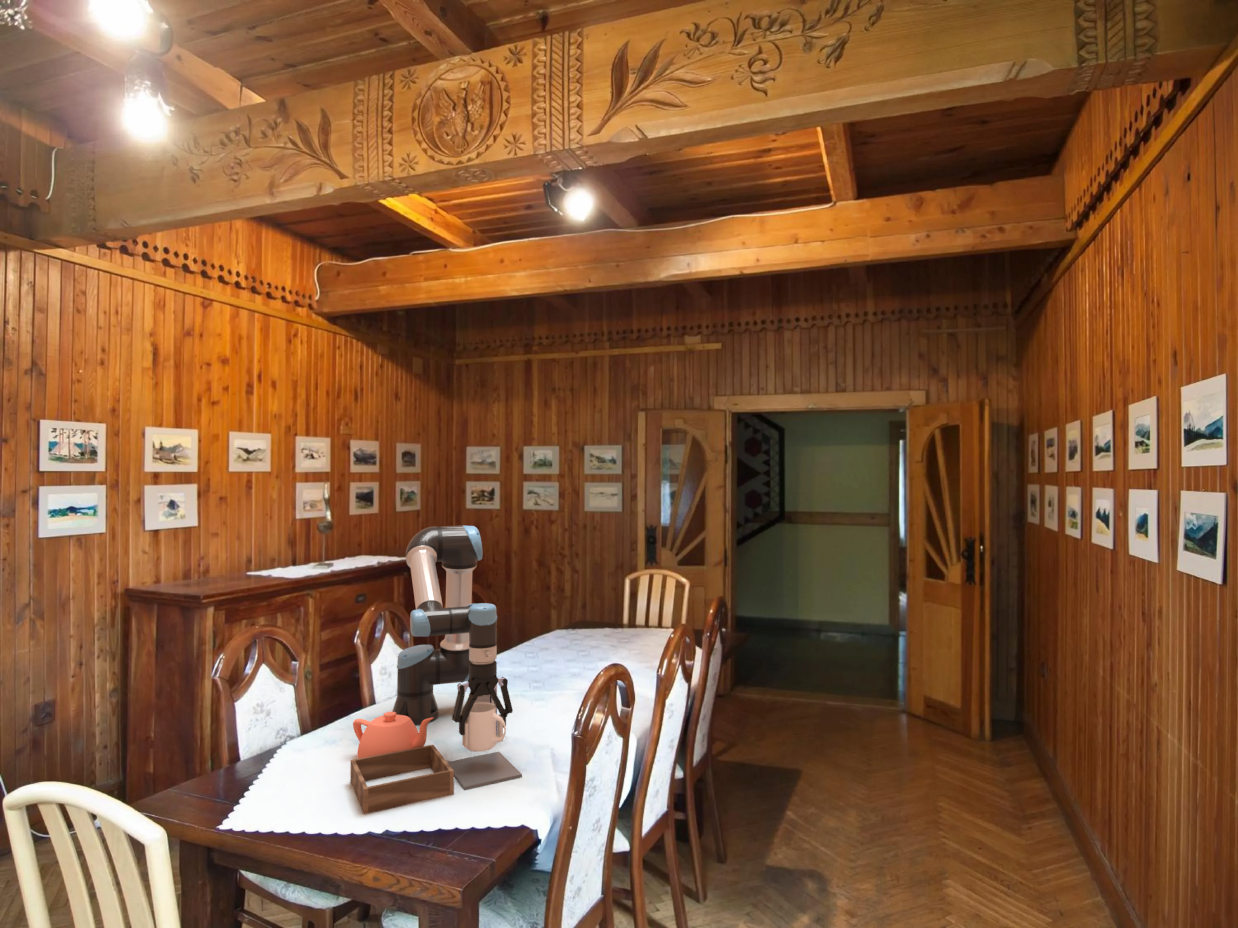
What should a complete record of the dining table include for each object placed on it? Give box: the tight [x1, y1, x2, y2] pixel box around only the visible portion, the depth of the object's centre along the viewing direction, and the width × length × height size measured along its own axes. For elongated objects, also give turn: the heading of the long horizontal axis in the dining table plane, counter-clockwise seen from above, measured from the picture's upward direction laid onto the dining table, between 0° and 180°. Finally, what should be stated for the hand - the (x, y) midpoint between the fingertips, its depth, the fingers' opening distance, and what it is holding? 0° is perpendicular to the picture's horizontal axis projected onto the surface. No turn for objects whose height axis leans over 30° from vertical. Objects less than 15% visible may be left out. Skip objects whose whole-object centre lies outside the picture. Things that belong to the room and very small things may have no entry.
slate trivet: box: [447, 751, 523, 791], centre depth 198 cm, size 18×16×1 cm
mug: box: [465, 703, 507, 753], centre depth 198 cm, size 9×12×11 cm
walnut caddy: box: [349, 744, 455, 815], centre depth 187 cm, size 20×22×6 cm
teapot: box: [352, 711, 434, 759], centre depth 205 cm, size 25×17×13 cm
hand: (482, 742), depth 198 cm, fingers closed on mug, 9 cm apart
